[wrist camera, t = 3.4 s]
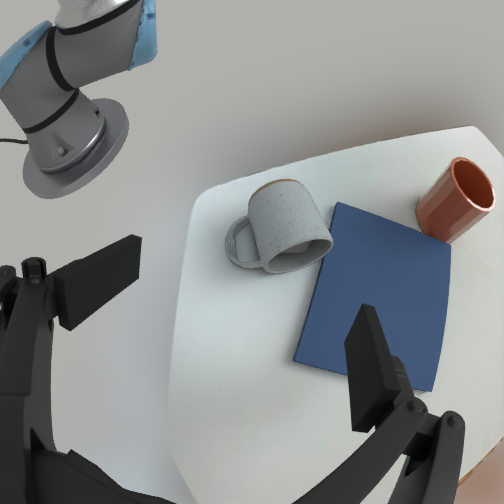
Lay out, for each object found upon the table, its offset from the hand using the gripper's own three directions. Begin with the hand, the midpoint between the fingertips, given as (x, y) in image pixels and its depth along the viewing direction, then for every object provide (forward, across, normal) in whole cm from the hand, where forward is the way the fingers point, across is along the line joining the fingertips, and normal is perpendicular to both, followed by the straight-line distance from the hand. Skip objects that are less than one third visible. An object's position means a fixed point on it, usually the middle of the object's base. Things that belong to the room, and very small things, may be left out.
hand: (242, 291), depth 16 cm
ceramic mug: (+18, 0, -3) cm, 19 cm away
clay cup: (+26, +22, +6) cm, 35 cm away
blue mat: (+17, +15, -5) cm, 23 cm away
